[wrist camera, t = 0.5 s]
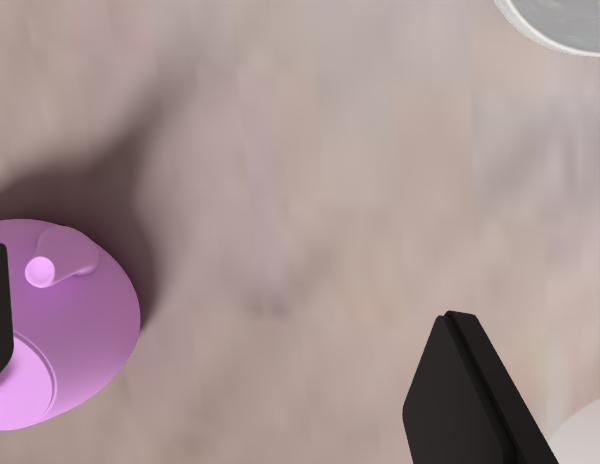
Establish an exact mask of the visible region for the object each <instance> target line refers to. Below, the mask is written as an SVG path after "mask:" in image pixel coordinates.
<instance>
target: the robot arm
mask: <svg viewBox="0 0 600 464" xmlns="http://www.w3.org/2000/svg"><path fill="white" fill-rule="evenodd" d="M13 351H14V337H13V324H12V310H11V296H10V283H9V269H8V255H7V248H6V246H5V245H4V244H3V243H0V373H1V372H2V370H3V369H4V368H5V367H6V365H7V364H8V363H9V361H10V359H11V357H12V354H13ZM402 415H403V423H404V427H405V431H406V435H407V440H408V444H409V448H410V452H411V456H412V460H413V464H559V463H558V461H557V459H556V458H555V456H554V454H553V452H552V451H551V449H550V447H549V445H548V443H547V442H546V440H545V438H544V436H543V434H542V433H541V431H540V429H539V427H538V426H537V424H536V422H535V420H534V418H533V417H532V415H531V413H530V411H529V410H528V408H527V406H526V404H525V402H524V401H523V399H522V397H521V395H520V393H519V392H518V390H517V388H516V386H515V385H514V383H513V381H512V379H511V377H510V376H509V374H508V372H507V370H506V369H505V367H504V365H503V363H502V361H501V360H500V358H499V356H498V354H497V352H496V351H495V349H494V347H493V345H492V344H491V342H490V340H489V338H488V336H487V335H486V333H485V331H484V329H483V328H482V326H481V324H480V322H479V320H478V319H477V317H476V316H475V315H473V314H468V313H462V312H456V311H450V310H449V311H447V312H446V313H445V315H444V316H438V317H437V318H436V320H435V322H434V325H433V328H432V330H431V333H430V336H429V338H428V341H427V344H426V346H425V349H424V352H423V354H422V357H421V360H420V362H419V365H418V368H417V370H416V373H415V376H414V378H413V381H412V384H411V386H410V389H409V392H408V394H407V397H406V400H405V402H404V406H403V414H402Z"/></svg>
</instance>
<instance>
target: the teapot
mask: <svg viewBox="0 0 600 464" xmlns="http://www.w3.org/2000/svg"><path fill="white" fill-rule="evenodd" d="M0 243H3V244H4V245H5V246H6V248H7V255H8V269H9V283H10V296H11V310H12V324H13V337H14V351H13V354H12V357H11V359H10V361H9V363H8V364H7V365H6V367H5V368H4V369H3V370H2V372H1V373H0V430H14V429H19V428H23V427H27V426H30V425H33V424H37V423H40V422H42V421H45V420H47V419H50V418H52V417H54V416H56V415H59V414H61V413H63V412H65V411H68V410H70V409H72V408H74V407H75V406H77V405H79V404H81V403H83V402H84V401H86V400H87V399H89V398H90V397H92V396H93V395H94V394H96V393H97V392H98V391H100V390H101V389H102V388H103V387H104V386H105V385H106V384H107V383H108V382H109V381H110V380H111V379H112V378H113V377H114V376H115V375H116V374H117V373H118V371H119V370H120V369H121V368H122V366H123V365H124V364H125V363H126V361H127V359H128V358H129V356H130V354H131V353H132V351H133V349H134V347H135V345H136V342H137V339H138V337H139V331H140V308H139V302H138V298H137V295H136V292H135V290H134V287H133V285H132V283H131V281H130V279H129V278H128V276H127V274H126V273H125V271H124V270H123V269H122V268H121V266H120V265H119V264H118V263H117V261H116V260H115V259H114V258H113V257H112V256H111V255H110V254H109V253H107V252H106V251H105V250H104V249H102V248H101V247H100V246H99V245H97V244H96V243H94V242H93V241H91V240H90V238H88V237H87V236H86V235H84V234H83V233H81V232H79V231H78V230H76V229H73V228H70V227H67V226H60V225H58V224H54V223H50V222H46V221H40V220H33V219H10V220H0Z"/></svg>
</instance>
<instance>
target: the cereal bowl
mask: <svg viewBox="0 0 600 464" xmlns="http://www.w3.org/2000/svg"><path fill="white" fill-rule="evenodd" d="M493 1H494V3H495V4H496V6H497V7H498V9H499V11H500V12H502V14H503V16H504V17H505V18H506V19H507V20H508V22H510V23H511V24H512V25H513V26H514V27H515V29H517V30H518V31H519V32H521V33H522V34H524V35H525V36H526V37H527V38H530V39H532V40H533V41H535V42H537V43H539V44H541V45H543V46H546V47H548V48H551V49H554V50H557V51H561V52H565V53H568V54H576V55H582V56H592V57H600V0H493Z"/></svg>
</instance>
